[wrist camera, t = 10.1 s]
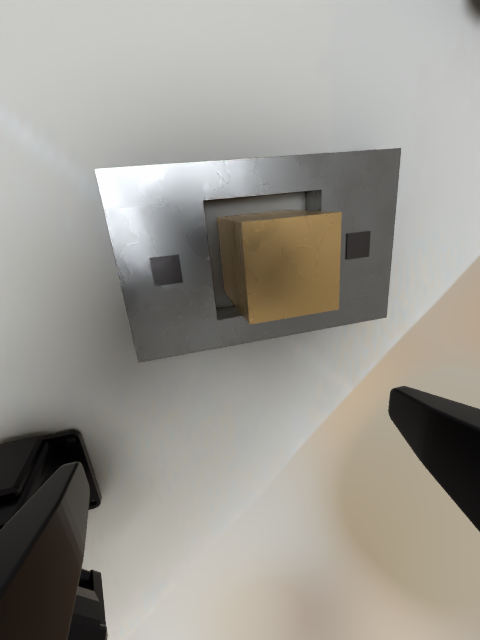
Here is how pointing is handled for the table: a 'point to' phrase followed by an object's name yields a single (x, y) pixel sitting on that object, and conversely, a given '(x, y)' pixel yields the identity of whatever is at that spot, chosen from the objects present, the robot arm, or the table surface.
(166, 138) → the table surface
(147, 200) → the grey slotted plate
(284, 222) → the wooden block
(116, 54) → the table surface
